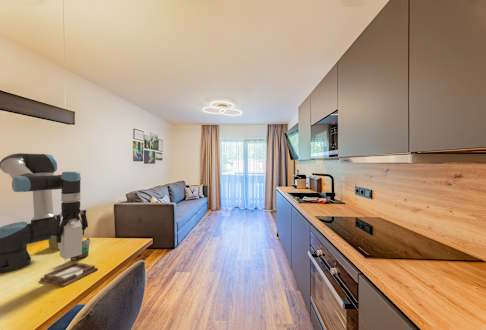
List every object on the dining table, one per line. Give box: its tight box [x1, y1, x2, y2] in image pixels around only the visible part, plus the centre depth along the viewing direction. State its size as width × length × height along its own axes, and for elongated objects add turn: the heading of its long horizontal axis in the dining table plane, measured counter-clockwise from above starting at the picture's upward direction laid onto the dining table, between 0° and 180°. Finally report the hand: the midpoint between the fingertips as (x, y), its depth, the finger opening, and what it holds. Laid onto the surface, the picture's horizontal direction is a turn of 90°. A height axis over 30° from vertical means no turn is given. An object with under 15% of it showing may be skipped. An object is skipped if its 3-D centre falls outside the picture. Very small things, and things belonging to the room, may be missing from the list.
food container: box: [69, 237, 92, 262], centre depth 125 cm, size 12×6×10 cm, turn 168°
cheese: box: [48, 237, 59, 250], centre depth 142 cm, size 10×11×10 cm
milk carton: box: [59, 218, 82, 260], centre depth 105 cm, size 7×7×19 cm
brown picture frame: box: [40, 261, 99, 288], centre depth 105 cm, size 17×16×2 cm
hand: (70, 245), depth 105 cm, fingers closed on milk carton, 8 cm apart
